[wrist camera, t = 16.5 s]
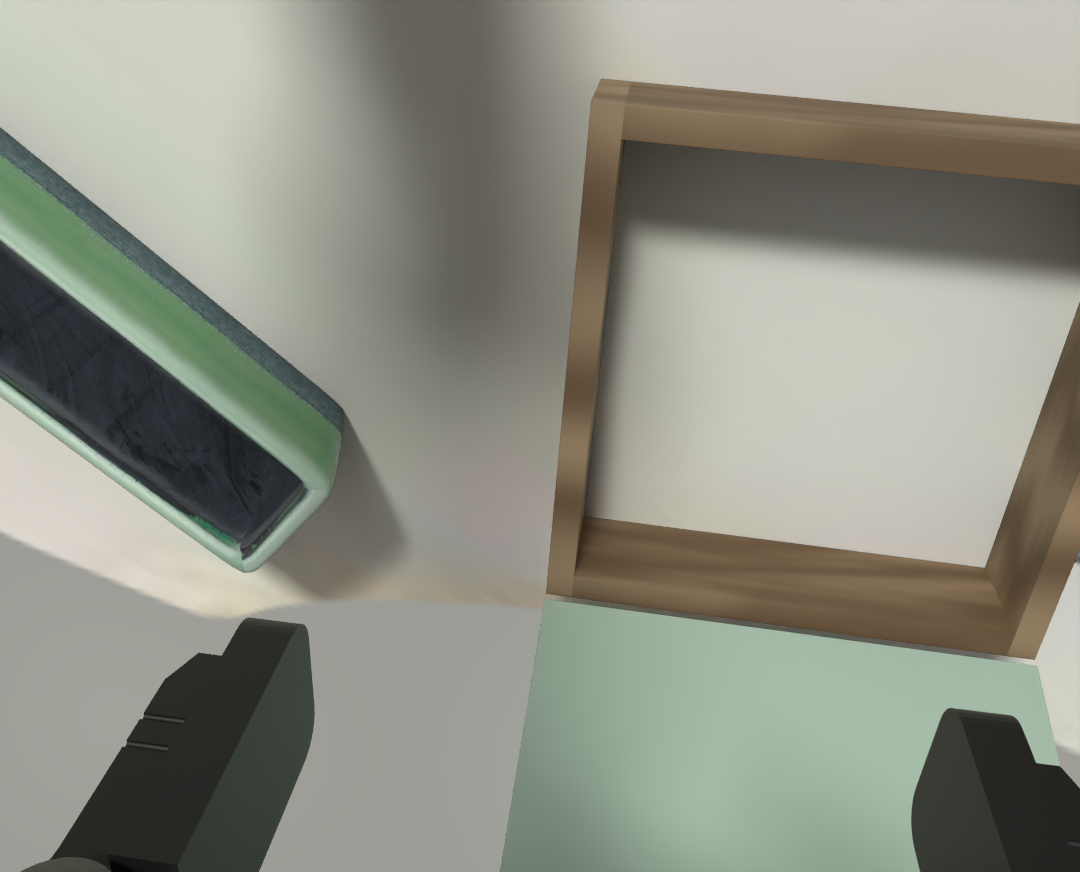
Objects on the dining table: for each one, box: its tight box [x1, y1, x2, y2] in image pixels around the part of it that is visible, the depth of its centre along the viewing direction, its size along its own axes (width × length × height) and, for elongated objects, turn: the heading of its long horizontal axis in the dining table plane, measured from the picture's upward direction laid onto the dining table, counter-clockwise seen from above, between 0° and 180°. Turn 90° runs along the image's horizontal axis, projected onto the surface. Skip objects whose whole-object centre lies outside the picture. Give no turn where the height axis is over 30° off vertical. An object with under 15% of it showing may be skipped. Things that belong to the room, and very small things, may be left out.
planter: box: [0, 128, 343, 573], centre depth 44 cm, size 28×7×7 cm, turn 48°
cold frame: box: [546, 79, 1080, 660], centre depth 42 cm, size 22×22×5 cm
